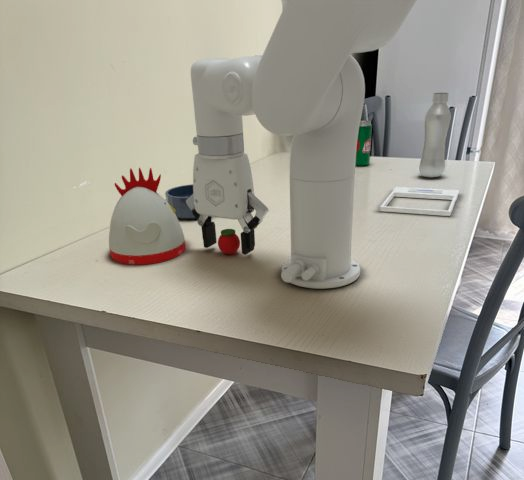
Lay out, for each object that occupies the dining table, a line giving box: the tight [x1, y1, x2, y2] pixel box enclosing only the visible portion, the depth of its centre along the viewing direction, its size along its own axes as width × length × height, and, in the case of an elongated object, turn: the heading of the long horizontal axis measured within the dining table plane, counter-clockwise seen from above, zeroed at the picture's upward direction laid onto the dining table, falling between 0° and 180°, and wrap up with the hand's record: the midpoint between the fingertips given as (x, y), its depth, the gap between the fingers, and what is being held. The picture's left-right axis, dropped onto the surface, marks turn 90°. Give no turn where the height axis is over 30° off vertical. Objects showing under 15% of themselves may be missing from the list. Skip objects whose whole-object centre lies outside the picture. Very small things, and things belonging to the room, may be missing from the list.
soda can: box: [355, 119, 373, 167], centre depth 150 cm, size 5×5×12 cm
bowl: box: [164, 183, 197, 220], centre depth 115 cm, size 12×12×5 cm
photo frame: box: [379, 186, 460, 217], centre depth 115 cm, size 15×1×18 cm
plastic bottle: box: [418, 92, 452, 179], centre depth 131 cm, size 6×7×20 cm
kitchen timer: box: [108, 166, 187, 266], centre depth 92 cm, size 14×14×15 cm
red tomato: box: [217, 228, 241, 255], centre depth 92 cm, size 4×4×4 cm
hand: (228, 248), depth 92 cm, fingers open, 7 cm apart
